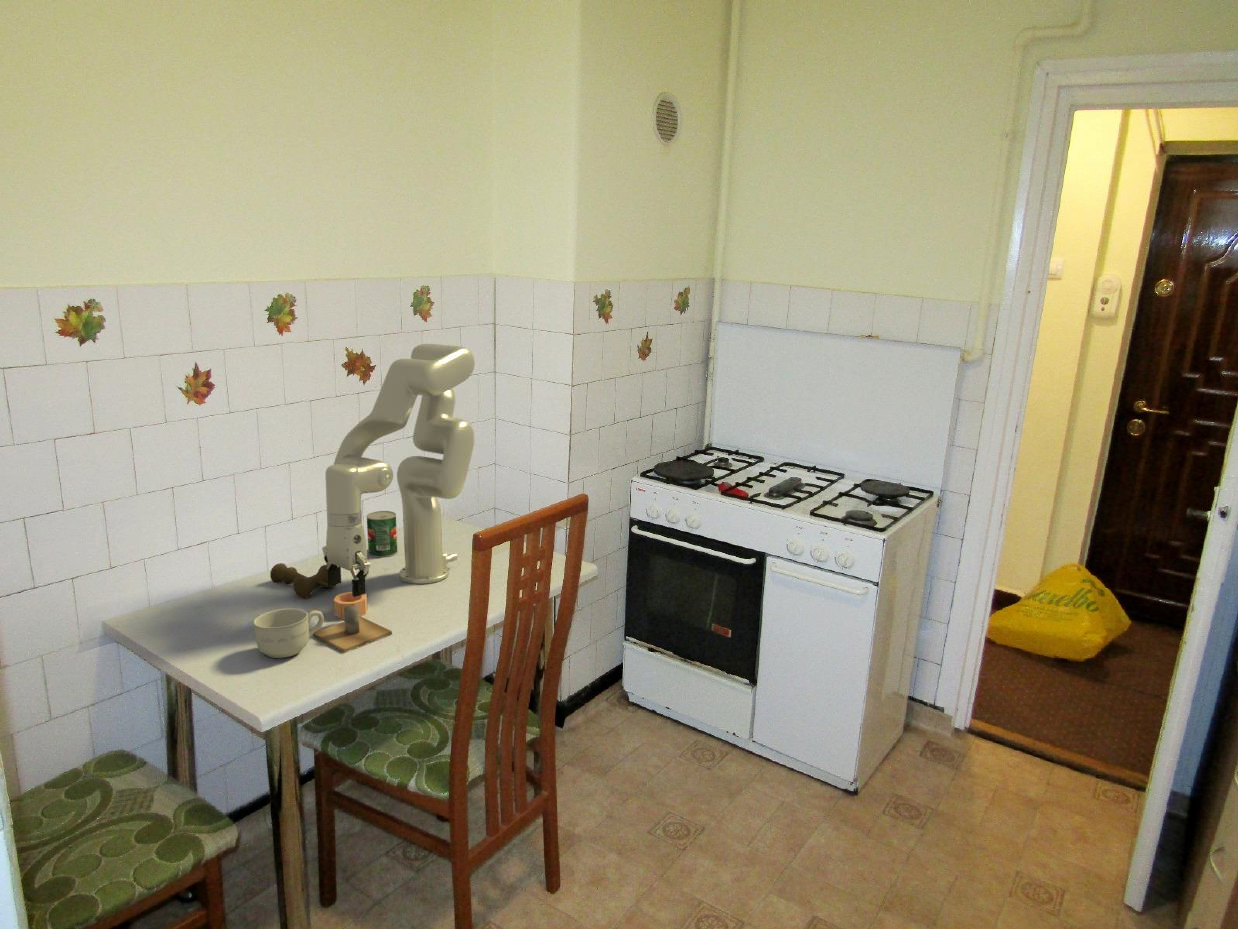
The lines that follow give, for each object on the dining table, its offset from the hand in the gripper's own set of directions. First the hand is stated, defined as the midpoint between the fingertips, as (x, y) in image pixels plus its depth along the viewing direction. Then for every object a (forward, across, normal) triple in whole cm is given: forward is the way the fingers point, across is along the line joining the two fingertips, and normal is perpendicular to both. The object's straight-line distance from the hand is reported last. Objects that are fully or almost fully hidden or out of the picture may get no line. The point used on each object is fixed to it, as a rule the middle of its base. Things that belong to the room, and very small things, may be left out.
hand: (346, 589), depth 204 cm
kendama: (+6, +21, -2) cm, 22 cm away
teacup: (+7, -7, +18) cm, 21 cm away
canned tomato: (+5, +28, -30) cm, 42 cm away
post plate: (+6, -11, +6) cm, 14 cm away
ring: (+6, 0, -1) cm, 6 cm away
